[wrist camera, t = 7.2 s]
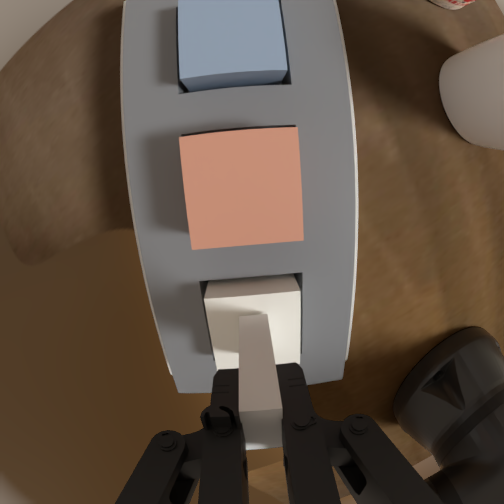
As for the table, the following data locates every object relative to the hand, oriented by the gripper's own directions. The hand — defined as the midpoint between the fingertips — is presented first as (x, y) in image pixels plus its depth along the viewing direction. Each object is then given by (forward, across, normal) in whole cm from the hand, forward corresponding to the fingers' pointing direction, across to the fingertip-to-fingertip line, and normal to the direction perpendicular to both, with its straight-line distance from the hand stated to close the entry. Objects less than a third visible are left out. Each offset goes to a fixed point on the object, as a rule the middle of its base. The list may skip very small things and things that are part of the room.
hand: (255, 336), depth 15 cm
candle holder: (+6, -20, -15) cm, 26 cm away
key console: (+6, 0, -8) cm, 10 cm away
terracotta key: (+2, 0, -8) cm, 8 cm away
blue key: (+3, 0, -16) cm, 16 cm away
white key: (+3, 0, 0) cm, 3 cm away
